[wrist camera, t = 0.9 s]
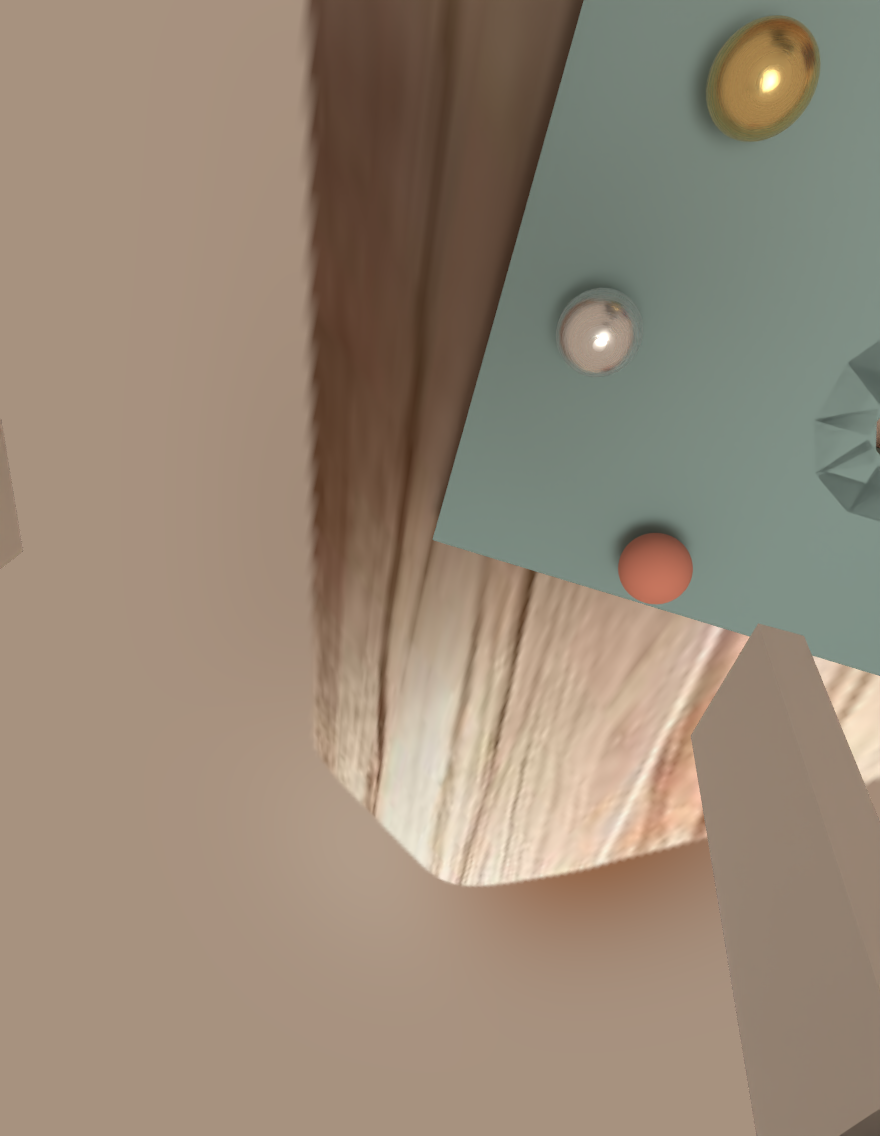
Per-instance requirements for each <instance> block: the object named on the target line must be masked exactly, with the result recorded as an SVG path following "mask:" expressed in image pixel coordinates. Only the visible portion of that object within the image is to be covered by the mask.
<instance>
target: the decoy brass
mask: <svg viewBox="0 0 880 1136" xmlns="http://www.w3.org/2000/svg"><path fill="white" fill-rule="evenodd" d="M820 66H821V61H820V52H819V48H818V45H817V42H816V40H815V38H814V36H813V34H812V33H811V32H810V30H809V29H808V28H807V27H806V26H805V25H804V24H803V23H801V22H799V21H798V20H796V19H794V18H791V17H787V16H781V15H773V16H766V17H762V18H758V19H756V20H754V21H751V22H749V23H748V24H746V25H744V26H743V27H741V28H740V29H739V30H737V31H736V32H735V33H734V34H733V35H732V36H731V37H730V38H729V39H728V40H727V41H726V42H725V43H724V45H723V46H722V48H721V49H720V50H719V52H718V54H717V55H716V57H715V59H714V61H713V63H712V66H711V68H710V71H709V75H708V79H707V85H706V102H707V108H708V111H709V114H710V116H711V119H712V121H713V122H714V124H715V125H716V126H717V128H718V129H719V130H720V131H721V132H723V133H724V134H725V135H727V136H728V137H730V138H732V139H735V140H738V141H742V142H757V141H762V140H766V139H769V138H771V137H774V136H776V135H778V134H780V133H781V132H783V131H784V130H786V129H787V128H788V127H789V126H791V125H792V124H793V123H794V122H795V121H796V120H797V119H798V118H799V117H800V116H801V114H802V113H803V112H804V111H805V109H806V108H807V106H808V105H809V103H810V101H811V99H812V97H813V95H814V93H815V90H816V88H817V84H818V81H819V76H820Z"/></svg>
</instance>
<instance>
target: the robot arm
mask: <svg viewBox="0 0 880 1136" xmlns="http://www.w3.org/2000/svg"><path fill="white" fill-rule="evenodd" d="M21 552H23V547H22V541H21V536H20V529H19V524H18V517H17V511H16V505H15V499H14V493H13V487H12V481H11V475H10V469H9V463H8V457H7V451H6V445H5V439H4V433H3V427H2V421H1V419H0V569H1V568H3V567H4V566H5V565H6V564H8V563H9V562H10V561H11V560H13V559H14V558H15V557H17V556H18V555H19V554H20V553H21ZM691 740H692V746H693V752H694V758H695V764H696V770H697V776H698V782H699V788H700V794H701V801H702V807H703V813H704V819H705V825H706V831H707V837H708V843H709V849H710V855H711V862H712V868H713V874H714V879H715V886H716V891H717V898H718V904H719V910H720V916H721V922H722V928H723V935H724V941H725V947H726V953H727V959H728V965H729V971H730V977H731V983H732V989H733V996H734V1002H735V1007H736V1013H737V1020H738V1026H739V1032H740V1037H741V1044H742V1050H743V1057H744V1063H745V1069H746V1075H747V1081H748V1087H749V1093H750V1099H751V1104H752V1111H753V1117H754V1124H755V1129H756V1136H880V821H879V818H878V816H877V813H876V811H875V808H874V806H873V803H872V801H871V799H870V796H869V794H868V791H867V789H866V786H865V784H864V781H863V779H862V777H861V774H860V772H859V769H858V767H857V764H856V762H855V759H854V757H853V755H852V752H851V750H850V747H849V745H848V742H847V740H846V737H845V735H844V733H843V730H842V728H841V725H840V723H839V720H838V718H837V715H836V713H835V711H834V708H833V706H832V703H831V701H830V698H829V696H828V693H827V691H826V689H825V686H824V684H823V681H822V679H821V676H820V674H819V671H818V669H817V667H816V664H815V662H814V659H813V657H812V654H811V652H810V649H809V647H808V645H807V642H806V640H805V637H804V636H803V635H799V634H795V633H792V632H788V631H784V630H781V629H777V628H773V627H770V626H766V625H762V624H757V626H756V628H755V629H754V631H753V633H752V634H751V636H750V638H749V639H748V641H747V643H746V644H745V646H744V648H743V649H742V651H741V653H740V654H739V656H738V658H737V659H736V661H735V663H734V664H733V666H732V668H731V669H730V671H729V673H728V674H727V676H726V678H725V679H724V681H723V683H722V684H721V686H720V688H719V689H718V691H717V693H716V694H715V696H714V698H713V699H712V701H711V703H710V704H709V706H708V708H707V709H706V711H705V713H704V714H703V716H702V718H701V719H700V721H699V723H698V724H697V726H696V728H695V729H694V731H693V733H692V734H691Z"/></svg>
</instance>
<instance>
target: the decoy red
mask: <svg viewBox="0 0 880 1136" xmlns="http://www.w3.org/2000/svg"><path fill="white" fill-rule="evenodd" d="M692 573H693V563H692V559H691V556H690V554H689V552H688V550H687V549H686V547H685V546H684V545H683V544H682V543H681V542H680V541H679V540H677V539H676V538H674V537H672V536H670V535H667V534H663V533H648V534H644V535H641V536H639V537H637V538H635V539H634V540H632V541H631V542H630V543H629V544H628V545H627V546H626V547H625V549H624V550H623V552H622V554H621V556H620V559H619V563H618V574H619V578H620V581H621V583H622V585H623V587H624V589H625V590H626V591H627V592H628V593H629V594H630V595H631V596H632V597H634V598H635V599H637V600H639V601H641V602H644V603H648V604H664V603H667V602H670V601H672V600H674V599H676V598H677V597H679V596H680V595H681V594H682V593H683V592H684V591H685V590H686V589H687V587H688V585H689V583H690V581H691V578H692Z"/></svg>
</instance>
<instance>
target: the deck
mask: <svg viewBox="0 0 880 1136" xmlns="http://www.w3.org/2000/svg"><path fill="white" fill-rule="evenodd" d="M773 15H781V16H787V17H791V18H794V19H796V20H798V21H799V22H801V23H803V24H804V25H805V26H806V27H807V28H808V29H809V30H810V32H811V33H812V34H813V36H814V38H815V40H816V42H817V45H818V48H819V52H820V61H821V66H820V76H819V81H818V84H817V88H816V90H815V93H814V95H813V97H812V99H811V101H810V103H809V105H808V106H807V108H806V109H805V111H804V112H803V113H802V114H801V116H800V117H799V118H798V119H797V120H796V121H795V122H794V123H793V124H792V125H791V126H789V127H788V128H787V129H786V130H784V131H783V132H781V133H780V134H778V135H776V136H774V137H771V138H769V139H766V140H762V141H757V142H742V141H738V140H735V139H732V138H730V137H728V136H727V135H725V134H724V133H723V132H721V131H720V130H719V129H718V128H717V126H716V125H715V124H714V122H713V121H712V119H711V116H710V114H709V111H708V108H707V102H706V85H707V79H708V75H709V71H710V68H711V66H712V63H713V61H714V59H715V57H716V55H717V54H718V52H719V50H720V49H721V48H722V46H723V45H724V43H725V42H726V41H727V40H728V39H729V38H730V37H731V36H732V35H733V34H734V33H735V32H736V31H737V30H739V29H740V28H741V27H743V26H744V25H746V24H748V23H749V22H751V21H754V20H756V19H758V18H762V17H766V16H773ZM594 288H611V289H615V290H618V291H620V292H622V293H624V294H625V295H627V296H628V297H629V298H630V299H631V300H632V301H633V302H634V303H635V304H636V306H637V308H638V310H639V311H640V314H641V317H642V321H643V338H642V342H641V345H640V348H639V350H638V352H637V354H636V355H635V357H634V358H633V359H632V361H631V362H630V363H629V364H628V365H627V366H626V367H624V368H623V369H622V370H620V371H618V372H617V373H614V374H612V375H609V376H605V377H589V376H584V375H582V374H579V373H577V372H576V371H574V370H573V369H571V368H570V367H569V366H568V365H567V364H566V363H565V361H564V360H563V359H562V357H561V355H560V353H559V350H558V347H557V342H556V329H557V324H558V321H559V318H560V316H561V314H562V312H563V310H564V308H565V307H566V306H567V304H568V303H569V302H570V301H571V300H572V299H574V298H575V297H576V296H578V295H579V294H581V293H583V292H585V291H587V290H590V289H594ZM879 418H880V0H584V1H583V4H582V8H581V12H580V15H579V19H578V22H577V26H576V29H575V33H574V37H573V40H572V44H571V47H570V51H569V54H568V58H567V62H566V65H565V69H564V72H563V76H562V79H561V83H560V87H559V90H558V94H557V97H556V101H555V104H554V108H553V112H552V115H551V119H550V122H549V126H548V129H547V133H546V137H545V140H544V144H543V147H542V151H541V154H540V158H539V162H538V165H537V169H536V172H535V176H534V179H533V183H532V187H531V190H530V194H529V197H528V201H527V204H526V208H525V212H524V215H523V219H522V222H521V226H520V229H519V233H518V237H517V240H516V244H515V247H514V251H513V254H512V258H511V261H510V265H509V269H508V272H507V276H506V279H505V283H504V286H503V290H502V294H501V297H500V301H499V304H498V308H497V311H496V315H495V319H494V322H493V326H492V329H491V333H490V336H489V340H488V344H487V347H486V351H485V354H484V358H483V361H482V365H481V369H480V372H479V376H478V379H477V383H476V386H475V390H474V394H473V397H472V401H471V404H470V408H469V411H468V415H467V419H466V422H465V426H464V429H463V433H462V436H461V440H460V444H459V447H458V451H457V454H456V458H455V461H454V465H453V469H452V472H451V476H450V479H449V483H448V486H447V490H446V494H445V497H444V501H443V504H442V508H441V511H440V515H439V519H438V522H437V526H436V529H435V533H434V536H433V540H434V541H438V542H441V543H444V544H448V545H451V546H454V547H458V548H461V549H464V550H467V551H471V552H474V553H477V554H481V555H484V556H487V557H490V558H494V559H497V560H500V561H504V562H507V563H510V564H513V565H517V566H520V567H523V568H527V569H530V570H533V571H536V572H540V573H543V574H546V575H550V576H553V577H556V578H560V579H563V580H566V581H569V582H573V583H576V584H579V585H583V586H586V587H589V588H592V589H596V590H599V591H602V592H606V593H609V594H612V595H615V596H619V597H622V598H625V599H629V600H632V601H635V602H638V603H642V604H645V605H648V606H652V607H655V608H658V609H662V610H665V611H668V612H671V613H675V614H678V615H681V616H685V617H688V618H691V619H694V620H698V621H701V622H704V623H708V624H711V625H714V626H717V627H721V628H724V629H727V630H731V631H734V632H737V633H740V634H744V635H747V636H751V634H752V633H753V631H754V629H755V628H756V626H757V624H762V625H766V626H770V627H773V628H777V629H781V630H784V631H788V632H792V633H795V634H799V635H803V636H804V637H805V640H806V642H807V645H808V647H809V649H810V652H811V654H812V655H813V656H816V657H819V658H823V659H826V660H829V661H833V662H836V663H839V664H842V665H846V666H849V667H852V668H856V669H859V670H862V671H865V672H869V673H872V674H875V675H879V676H880V448H877V447H876V424H877V421H878V419H879ZM648 533H663V534H667V535H670V536H672V537H674V538H676V539H677V540H679V541H680V542H681V543H682V544H683V545H684V546H685V547H686V549H687V550H688V552H689V554H690V556H691V559H692V563H693V573H692V578H691V581H690V583H689V585H688V587H687V589H686V590H685V591H684V592H683V593H682V594H681V595H680V596H679V597H677V598H676V599H674V600H672V601H670V602H667V603H664V604H648V603H644V602H641V601H639V600H637V599H635V598H634V597H632V596H631V595H630V594H629V593H628V592H627V591H626V590H625V589H624V587H623V585H622V583H621V581H620V578H619V574H618V563H619V559H620V556H621V554H622V552H623V550H624V549H625V547H626V546H627V545H628V544H629V543H630V542H631V541H632V540H634V539H635V538H637V537H639V536H641V535H644V534H648Z"/></svg>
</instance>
